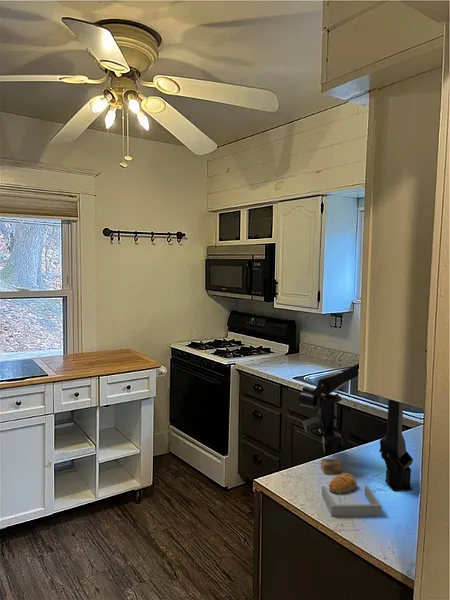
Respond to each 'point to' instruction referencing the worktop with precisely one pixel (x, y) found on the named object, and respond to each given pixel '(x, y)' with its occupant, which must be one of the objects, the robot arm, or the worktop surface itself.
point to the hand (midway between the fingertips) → (326, 453)
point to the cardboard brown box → (331, 466)
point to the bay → (353, 505)
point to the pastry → (343, 483)
